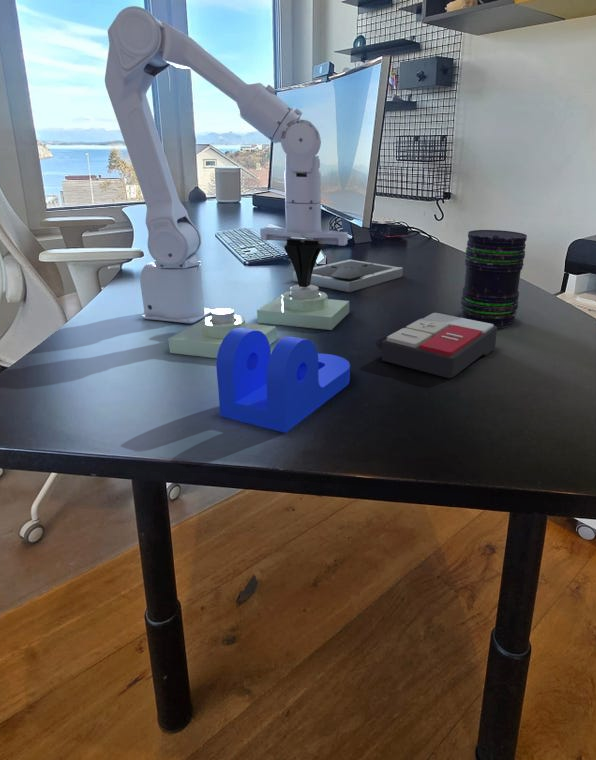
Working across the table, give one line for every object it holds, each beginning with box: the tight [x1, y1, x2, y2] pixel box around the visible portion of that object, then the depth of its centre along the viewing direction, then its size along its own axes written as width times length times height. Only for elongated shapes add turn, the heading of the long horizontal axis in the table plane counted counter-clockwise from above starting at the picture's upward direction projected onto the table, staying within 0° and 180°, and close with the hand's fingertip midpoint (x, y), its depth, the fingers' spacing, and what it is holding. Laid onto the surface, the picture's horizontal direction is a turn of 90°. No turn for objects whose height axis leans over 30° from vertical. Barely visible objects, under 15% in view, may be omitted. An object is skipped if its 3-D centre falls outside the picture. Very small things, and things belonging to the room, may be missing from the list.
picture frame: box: [292, 259, 404, 293], centre depth 125 cm, size 16×3×21 cm
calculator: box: [381, 312, 498, 379], centre depth 79 cm, size 11×4×15 cm
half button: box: [210, 307, 235, 324], centre depth 79 cm, size 3×3×2 cm
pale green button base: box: [167, 314, 277, 359], centre depth 80 cm, size 12×10×4 cm
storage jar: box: [459, 229, 528, 329], centre depth 94 cm, size 10×10×15 cm
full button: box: [289, 284, 320, 299], centre depth 94 cm, size 5×5×2 cm
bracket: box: [215, 328, 351, 434], centre depth 64 cm, size 18×8×9 cm, turn 155°
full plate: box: [256, 290, 350, 331], centre depth 95 cm, size 13×11×4 cm
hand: (304, 285), depth 93 cm, fingers closed
